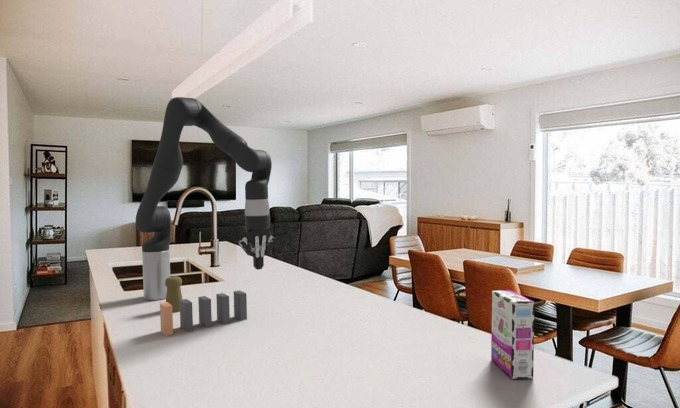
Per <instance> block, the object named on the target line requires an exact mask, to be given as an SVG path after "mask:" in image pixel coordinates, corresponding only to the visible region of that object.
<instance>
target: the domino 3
mask: <svg viewBox="0 0 680 408" xmlns="http://www.w3.org/2000/svg"><path fill="white" fill-rule="evenodd" d="M215 296H216V321H218V322H219V321H220V322H219V323H221V324H222V323H223V324H222V325H225V324H230V323H231V316H230V312H231V311H230V295H227V294H226V293H223V292H220V293H216V295H215Z"/></svg>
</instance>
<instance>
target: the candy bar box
mask: <svg viewBox="0 0 680 408" xmlns="http://www.w3.org/2000/svg"><path fill="white" fill-rule="evenodd" d="M534 339H535V301H533V300H531V299H529V298H527V297H526V296H524V295H522V294H520V293H517V292H516V291H513V290H510V289H500V290H498V289H497V290H492V291H491V341H490V342H491V345H490V346H491V348H490V349H491V353H490V354H491V355H490V357H491V359H490V360H491V361H492V362H493V363H494V364H495V365H496V366H497V367H498V368H499V369H500V370H501V371H502V372H503V373H505V374H506V375H507V376H508V377H509V378H510V379H512V380H530V379H531V380H532V379H534V354H535V352H534V351H535V350H534V349H535V344H534V343H535V342H534V341H535V340H534Z"/></svg>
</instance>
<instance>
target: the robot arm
mask: <svg viewBox="0 0 680 408" xmlns="http://www.w3.org/2000/svg"><path fill="white" fill-rule="evenodd" d="M192 126H193V127H198V129H201V130H203V131H204V132H206V133H207V135H208V136H209V137H210V138H211V141H212V143H213V144H214V145H215V146H216V147H217V148H218V149H219V150H220V151H222V152H224V153H225V154H226V155H228V156H229V157H231V159H232V160H233V161H234V162H235V163H236V165H237V166H238V167H239V168H241V169H242V170H244V171H245V172H247V173H251V178H250V180H248V181H246V182H245V186H244V190H245V192H244V194H245V195H244V197H245V198H244V199H245V200H244V201H245V203H244V220H245V222H244V224H245V225H244V226H245V232H244V237H243V238H242V239H241V240H238V241H237V244H238V246H240V248H241V249H242V250H243V251H244V253H245V254H246V255H247V256H249V257H252V258H253V259H252V260H253V264H252V265H253V268H254V269H255V270H257V271H259V270H262V269H263V268H264V265H265V264H264V262H265V261H264V257H265V256H266V255H270V253H271V251H272V250H273V248H274V246H275V245H276V244H277V242H278V239H277V238H278V237H277V238H276V237H274V236H273V235H272V233H271V231H270V230H271V229H270V228H271V224H270V221H271V219H270V203H269V188H268V187H269V182H270V179H271V172H272V168H273V167H272V158H271V155H270V154H269V153H268V151H266V150H262V149H255V148H252V147H250V146H249V145H248V142H247V141H246V139H245V138H243V137H242V136H241V135H239V134H238V133H237V132H235V131H233V130H232V129H230V128H229V127H228V126H226V124H223V123H222V122H221V121H220V119H218V118H217V117H216V116H215V115H214V114H213V113H212V112H211V111H210V110H209V109H208V108H207V107H206V106H205V105H204V104H203V103H202V102H201V101H199V100H198V99H196V98H193V97H185V96H184V97H182V96H177V97H176V96H175V97H172V98H171V99H170V100H169V101H168V103H167V105H166V108H165V113H164V119H163V124H162V130H161V135H160V139H159V143H158V147H157V151H156V155H155V157H154V161H153V164H152V168H151V171H150V175H149V178H148V182H147V186H146V189H145V191H144V194H143V196H142V199H141V201H140V203H139V205H138V208H137V211H136V215H135V226H136V229H137V231H139V232H140V233H147V234H148V233H153V236H152V237H151V238H149V239H148V240H146V241H145V242H143V243H142V244H141V259H142V260H141V261H142V279H143V281H142V283H143V287H142V288H143V299H144V300H147V301H156V300H157V301H158V300H164V299H165V300H166V294H167V287H166V285H165V281H166V279H167V278H168V277H171V261H170V255H171V254H170V244H171V237H172V235H171V234H172V229H171V228H172V217H171V213H170V210H169V208H168V207H167V206H164V205H158V204H159V203H160V201H161V200H162V198H163V197H164V196H165V195H166V194H167V193H168V192H169V191H170V190H171V189H172V188H173V187H174V186H175V185H176V184H177V182H178V181H179V178H180V175H181V173H182V172H181V171H182V169H183V167H184V166H183V165H184V159H183V154H182V149H181V146H180V139H181V135H182V131H183V130H184V127H192ZM248 244H249V245H250V247H249V245H248Z"/></svg>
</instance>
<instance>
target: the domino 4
mask: <svg viewBox="0 0 680 408" xmlns="http://www.w3.org/2000/svg"><path fill="white" fill-rule="evenodd" d="M247 300H248V299H247V293H246V292H244V291H242V290H241V289H240V290H234V291H233V317H234V318H236V319H237V320H239V321H245V320H248V310H247V309H248V308H247V307H248V305H247V303H248V302H247Z"/></svg>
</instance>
